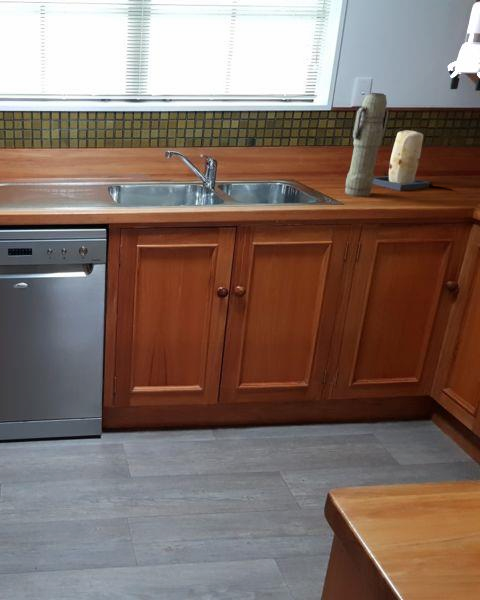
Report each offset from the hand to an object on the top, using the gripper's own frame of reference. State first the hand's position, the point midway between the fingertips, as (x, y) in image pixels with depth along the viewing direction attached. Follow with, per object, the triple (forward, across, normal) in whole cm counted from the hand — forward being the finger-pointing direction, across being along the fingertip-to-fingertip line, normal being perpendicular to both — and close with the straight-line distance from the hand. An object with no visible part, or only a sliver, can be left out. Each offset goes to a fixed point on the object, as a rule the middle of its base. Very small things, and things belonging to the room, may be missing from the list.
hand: (465, 89), depth 224 cm
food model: (+35, +7, +17) cm, 39 cm away
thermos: (+35, +2, +44) cm, 56 cm away
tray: (+35, +7, +17) cm, 40 cm away
